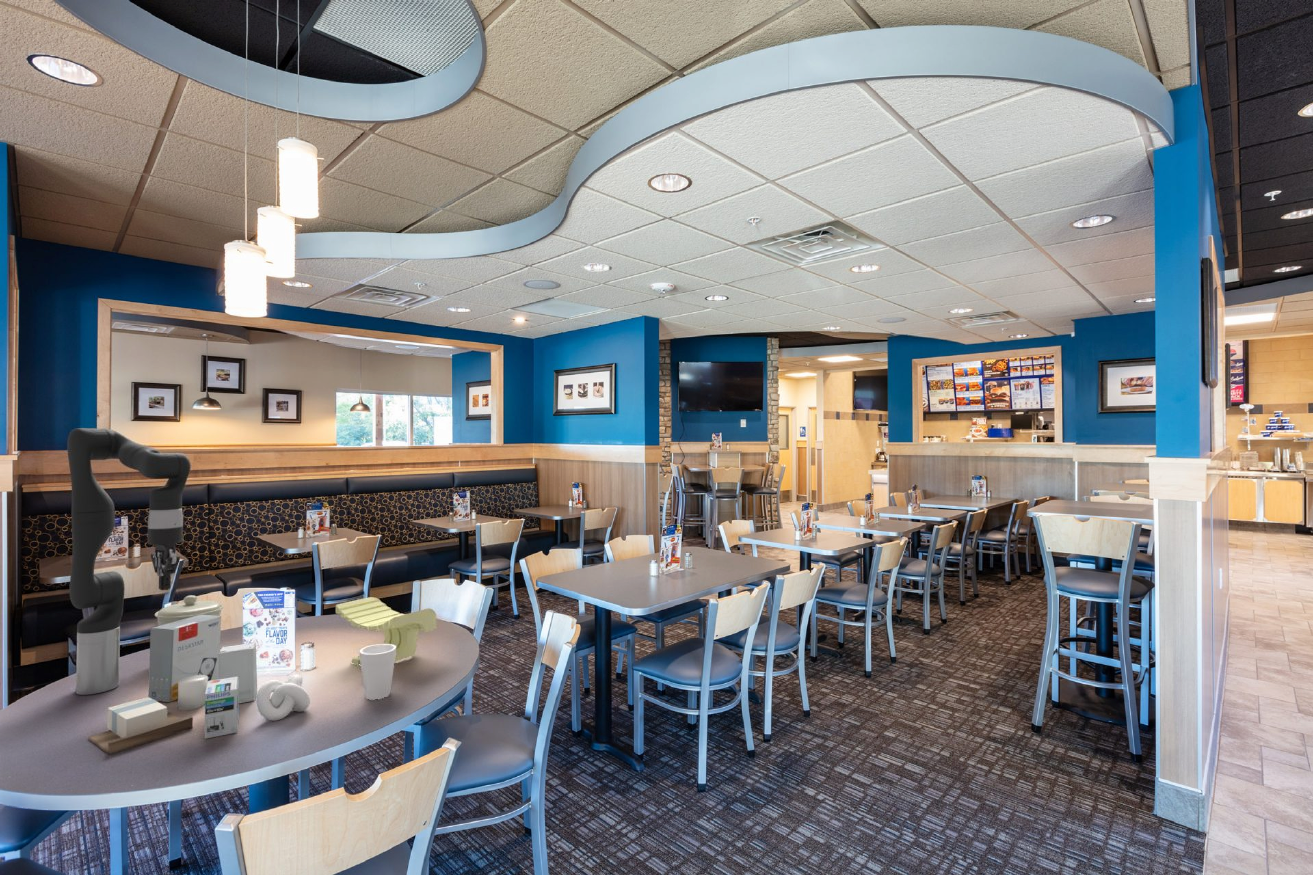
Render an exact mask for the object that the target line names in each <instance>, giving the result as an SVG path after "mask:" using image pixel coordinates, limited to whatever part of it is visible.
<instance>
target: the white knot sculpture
mask: <svg viewBox="0 0 1313 875" xmlns="http://www.w3.org/2000/svg"><path fill="white" fill-rule="evenodd" d="M302 684H303V677H302V676H301V675H300V674H293V675H292V676H290V677H289V678H288V679H287V681H286V682H283V681H281V680H277V679H271V680H268V681H266V682H264V683H263V684H261V686H260V688H259V689H258V690H257V695H256V707H257V709H258V710H257V711H258V712H259V713H260V715H261V716H262V717H263V719H266V720H268V721H272V722H276V721H279V720H282V719H284V718H286V717H287V716H288V715H289V714H290V713H291V711H295V712H298V713H301V712H303V711H306V710H307V709H308V708H309V706H310V703H311V699H310V695H309V694H308V692H307V691H306V690H305V689H304V688H303V687H302Z"/></svg>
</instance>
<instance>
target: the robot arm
mask: <svg viewBox="0 0 1313 875" xmlns="http://www.w3.org/2000/svg"><path fill="white" fill-rule="evenodd" d="M66 441H67V445H66V446H67V447H66V448H67V457H68V467H69V472H70V473H69V474H70V482H71V512H70V513H71V530H72V531H71V532H72V537H71V538H72V539H71V540H72V560H71V569H70V579H69V597H70V598H69V600H70V601H71V604H72V606H73V607H74V608H76V609H79V610H85V609H90V608H95V607H97V608H96V609H95V610H94V612H93V611H92V613H90V615H87V616H86V617H84V618H83V619H81V620H79V621H78V622H77V627H76V673H75V674H76V677H75V694H77V695H79V696H86V695H94V694H101V693H105V692H107V691H111V690H114V689H115V688H117V687H119V685H120V650H121V648H120V647H121V645H120V644H121V640H120V639H121V638H120V637H121V619H122V618H123V613H124V600H125V580H124V577H123V576H122V575H121V573H119V572H118V571H114V570H113V571H106V572H99V573H95V564H96V559H97V557H98V555H99V553H100V551H101V549H102V548H103V547H104V545H105V544H106V542H107V541H108V539H109V537H110V536H111V535H112V533H113V531H114V528H115V527H116V526H115V525H116V520H115V517H116V516H115V513H116V512H115V503H114V501H113V500H112V498H111V497H110V496H109V494H108V493H107V492H106V490H105V489H104V488H103V487H102V486H101V484H100V483H99V482H98V481H97V479H96V477H95V476H94V473H93V469H92V462H91V461H105V460H119V462H120V463H121V464H122V465H123V466H124V467H127V468H129V469H132V470H135V471H138V472H139V473H140V474H141V475H143V477H145V478H147V479H151V480H152V479H153V480H154V479H155V480H163V479H167V482H166V483H165V484H164V485H162V486H160V487H156V488H153V489H151V490H150V493H149V506H148V507H149V508H148V509H149V512H148V515H147V516H148V517H147V544H148V545H151V546H154V551H153V553H151V554H150V558H151V563H152V566H153V567H152V568H153V570H154V572H155V574H157V576H158V589H159V590H160V591H166V590H170V589H171V587H172V586H171V582H172V580H171V579H172V578H171V576H173V574H175V573H176V571H177V568H178V565H179V563H180V560H181V557H180V555H178V556H177V548H176V544H180V543H182V542H183V540H184V539H183V535H184V534H183V532H184V514H183V493H184V490H185V486H186V483H187V481H188V478H189V475H190V472H191V466H192V465H191V461H190V459H189V457H188V456H187V455H186V454H185V453H181V452H161V451H159V450H158V449H156V448H153V447H151V446H147V445H145V444H141V443H137V442H135V441H133V440H131V439H129V438H128V437H126V436H125V435H123V434H121V433H120V432H118V431H116V430H114V429H109V428H95V427H94V428H90V427H88V428H87V427H86V428H85V427H79V428H74V429H72V430H71V431H70V432H69V435H68V436H67V440H66Z"/></svg>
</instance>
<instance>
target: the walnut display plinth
mask: <svg viewBox="0 0 1313 875" xmlns="http://www.w3.org/2000/svg"><path fill="white" fill-rule="evenodd" d="M193 720H194V719H193V717H192V716H188V717H186V718H180V717H179V716H176V715H175V714H172V713H171V712H167V724H165V725H162V726H159V727H156V728H152V729H149V730H146V731H143V732H140V733H136V734H133V735H130V736H127V737H123V738H121V737H120V736H118V735H116V734H115V733H113V732H112V731H111V730H109V729H108V730H106V731H102V732H99V733H97V734H94V735H93V734H91V735H89V736H88V741H90V742H92V743H93V744H94V745H95V746H97V747H99V749H101V750H103V752H105V753H107V754H108V755H114V754H117V753H120V752H123V751H125V750H129V749H131V748H135V747H139V746H142V745H144V744H147V743H150V742H151V743H152V742H154V741H156V740H159V739H163V738H166V737H170V736H172V735H176V734H178V733H182V732H185V731H187V730H190V729H193V725H194V723H193Z"/></svg>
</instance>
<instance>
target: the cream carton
mask: <svg viewBox="0 0 1313 875" xmlns="http://www.w3.org/2000/svg"><path fill="white" fill-rule="evenodd" d="M167 713H168V707H167V706H166V705H164V704H162V703H160V702H159V701H155V700H154V699H151V698H149V697H148V696H145V697H143V698H140V699H136V700H135V699H134V700H132V701H127V702H124V703H121V704H117V705H113V706H109V707H107V729H108V731H109V730H111V731H112V732H113V733H115V734H116V735H118V736H120V737H121V738H123V737H127V736H130V735H133V734H136V733H140V732H143V731H146V730H149V729H152V728H156V727H159V726H162V725H165V724H167Z"/></svg>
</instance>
